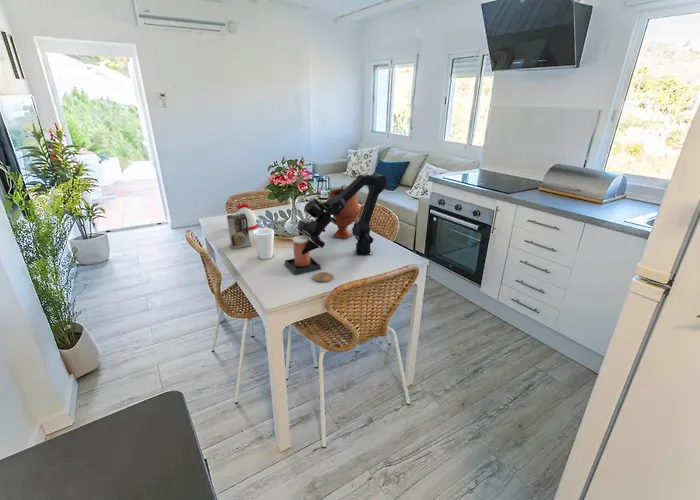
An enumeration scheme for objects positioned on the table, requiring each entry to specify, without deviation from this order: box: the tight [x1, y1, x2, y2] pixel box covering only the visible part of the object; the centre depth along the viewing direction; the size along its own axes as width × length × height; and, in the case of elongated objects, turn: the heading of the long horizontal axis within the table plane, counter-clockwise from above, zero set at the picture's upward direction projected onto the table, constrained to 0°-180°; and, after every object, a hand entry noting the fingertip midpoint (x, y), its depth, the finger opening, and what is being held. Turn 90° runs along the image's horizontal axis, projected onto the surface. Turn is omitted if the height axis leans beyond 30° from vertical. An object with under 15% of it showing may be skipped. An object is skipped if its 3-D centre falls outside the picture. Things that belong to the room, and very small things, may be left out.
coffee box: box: [226, 213, 251, 250], centre depth 177 cm, size 9×6×16 cm
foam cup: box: [252, 227, 275, 260], centre depth 166 cm, size 10×9×13 cm
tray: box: [284, 256, 321, 276], centre depth 159 cm, size 12×12×2 cm
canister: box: [292, 235, 311, 266], centre depth 156 cm, size 7×7×12 cm
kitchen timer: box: [235, 202, 259, 231], centre depth 204 cm, size 14×14×15 cm
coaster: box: [312, 271, 333, 283], centre depth 149 cm, size 8×8×1 cm
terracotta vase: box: [324, 188, 360, 239], centre depth 191 cm, size 19×19×25 cm
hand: (298, 250), depth 155 cm, fingers closed on canister, 7 cm apart
